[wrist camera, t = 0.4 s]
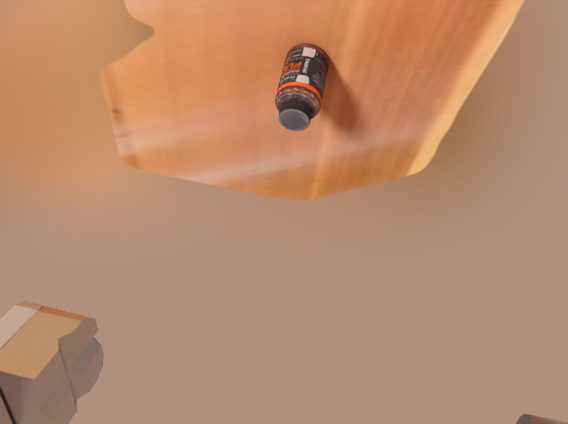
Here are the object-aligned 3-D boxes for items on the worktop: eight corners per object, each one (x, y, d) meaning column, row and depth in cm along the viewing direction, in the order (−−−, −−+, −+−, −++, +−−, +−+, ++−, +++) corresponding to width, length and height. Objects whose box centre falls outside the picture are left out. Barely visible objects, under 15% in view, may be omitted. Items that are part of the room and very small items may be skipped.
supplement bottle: (301, 33, 64) (287, 95, 58) (338, 57, 66) (327, 119, 61) (278, 61, 69) (262, 121, 63) (313, 82, 71) (301, 143, 65)
